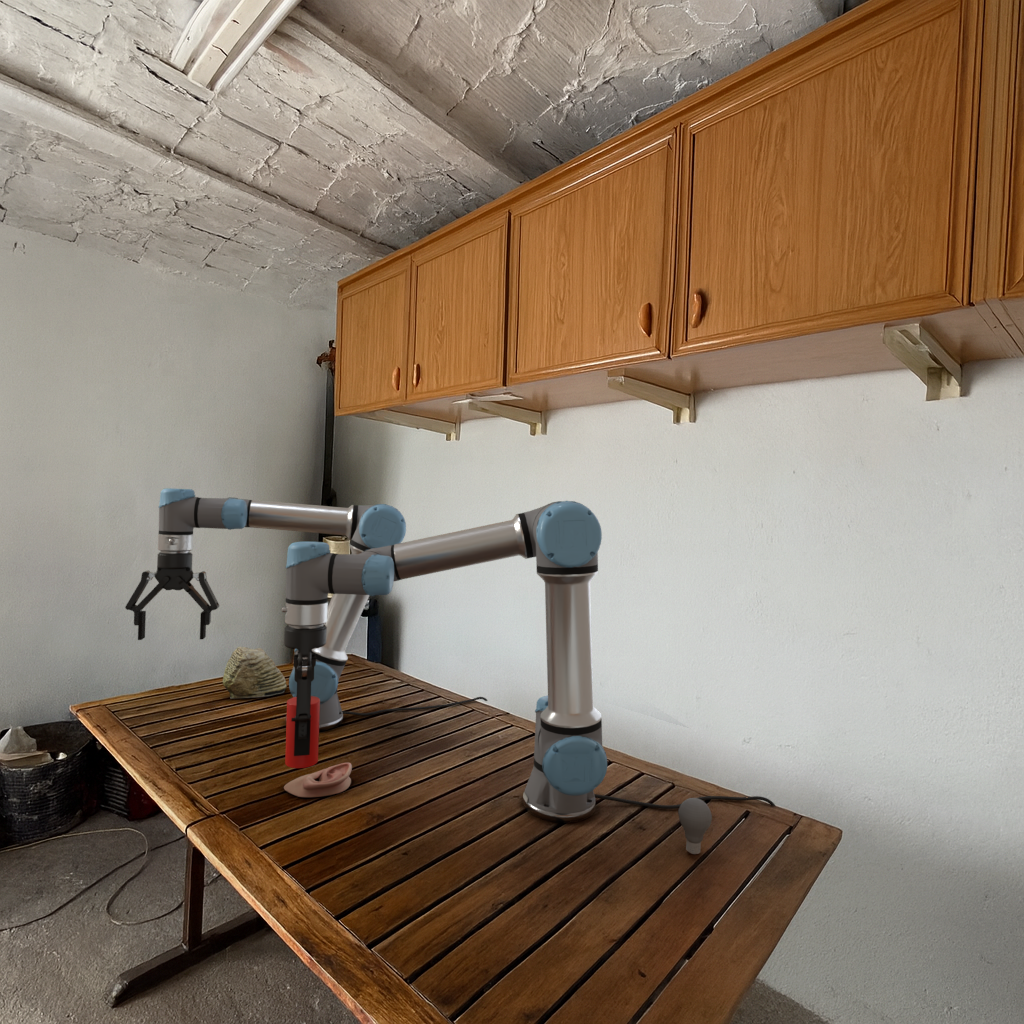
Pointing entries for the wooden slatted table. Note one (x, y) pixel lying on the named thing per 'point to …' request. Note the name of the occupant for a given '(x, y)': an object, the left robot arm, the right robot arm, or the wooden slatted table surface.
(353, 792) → the wooden slatted table surface
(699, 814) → the light bulb
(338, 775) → the anatomical model
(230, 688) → the fossil
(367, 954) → the wooden slatted table surface
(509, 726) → the wooden slatted table surface
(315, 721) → the red cylinder
